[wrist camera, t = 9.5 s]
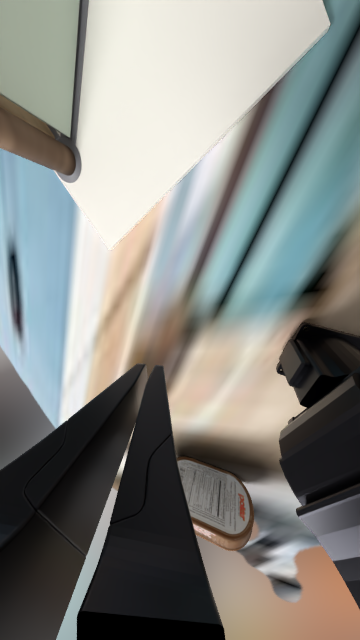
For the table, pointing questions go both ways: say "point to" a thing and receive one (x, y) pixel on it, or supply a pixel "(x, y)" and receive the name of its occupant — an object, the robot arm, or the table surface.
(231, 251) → the table surface
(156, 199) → the card
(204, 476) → the tin
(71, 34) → the folding panel
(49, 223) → the table surface
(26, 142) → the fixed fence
